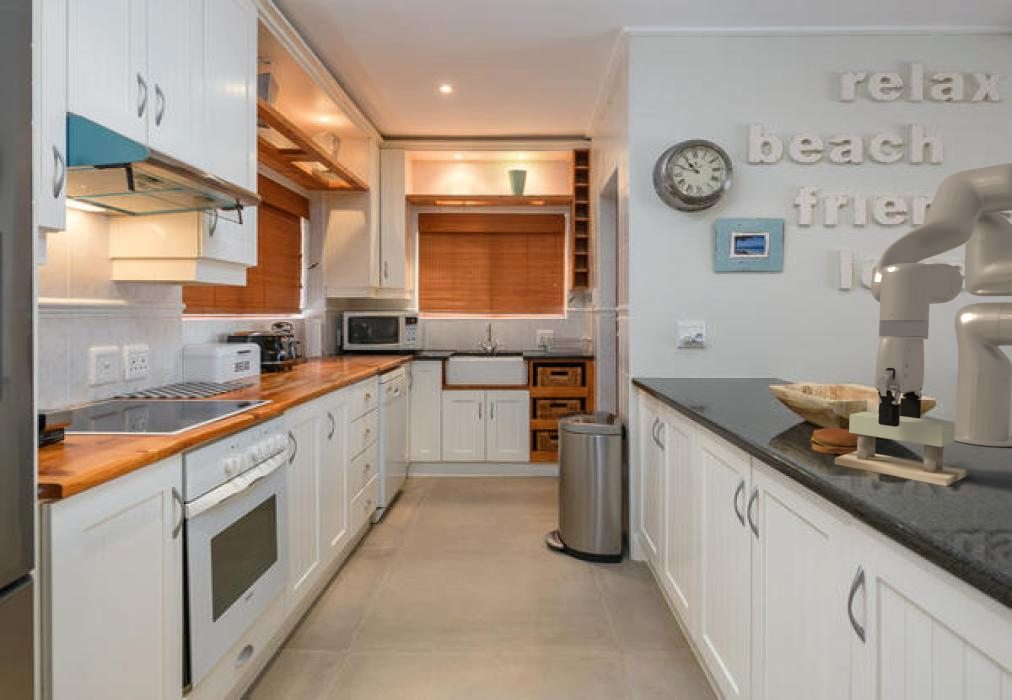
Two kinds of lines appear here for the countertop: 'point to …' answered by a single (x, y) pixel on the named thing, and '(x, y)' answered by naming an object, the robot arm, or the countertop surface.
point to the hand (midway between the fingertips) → (899, 422)
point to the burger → (834, 441)
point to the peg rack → (902, 463)
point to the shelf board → (904, 429)
